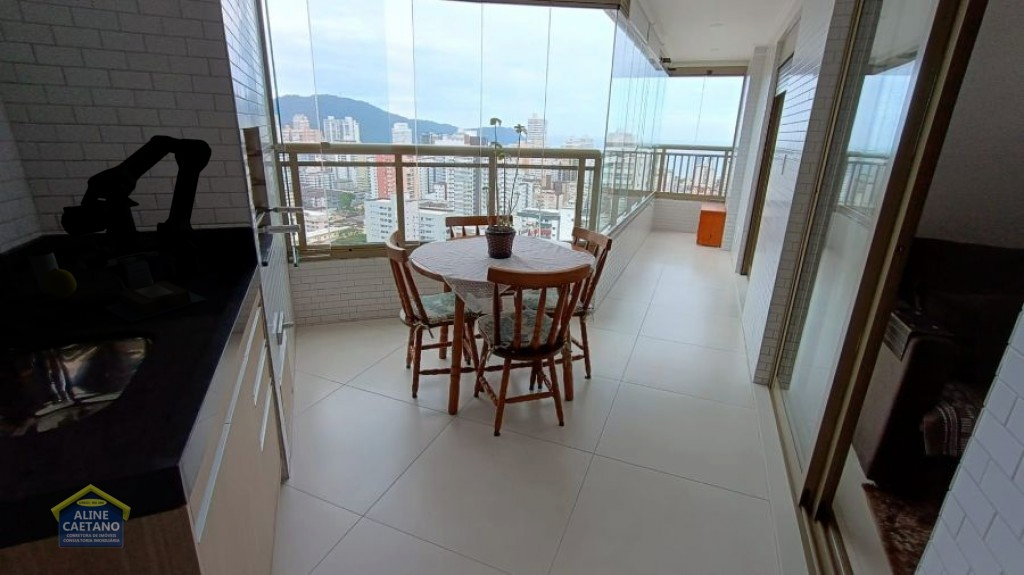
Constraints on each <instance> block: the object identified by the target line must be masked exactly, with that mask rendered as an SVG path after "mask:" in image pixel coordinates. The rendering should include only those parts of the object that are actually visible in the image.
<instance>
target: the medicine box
mask: <svg viewBox="0 0 1024 575" xmlns="http://www.w3.org/2000/svg"><path fill="white" fill-rule="evenodd" d="M117 263H118V264H120V265H122V267H123V270H124V273H125V276H126V279H127V282H128V286H129V288H125V287H124V285H123V284H122V283H121V286H122V289H123V291H126V290H130V289H134V288H138V287H142V286H146V285H149V284H153V283H154V282H153V281H154V280H153V276H152V277H151V274H150V270H149V267H148V264H147V262H145V261H142V260H141V258H138V257H137V256H134V257H129V258H124V259H120V260H117Z"/></svg>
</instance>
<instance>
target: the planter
mask: <svg viewBox="0 0 1024 575" xmlns="http://www.w3.org/2000/svg"><path fill="white" fill-rule="evenodd" d="M27 257H28V259H29V262H30V265H31V268H32V270H33V272H34V275H35V278H36V281H37V282H38V285H39V288H40V291H41V293H42V294H44V295H52V294H51V293H49V292H48V290H47V289H46V287H45V283H44V278H45V275H46V274H47V273H48V272H49V271H51V270H53V269H54V268H58V269H60V268H59V265H58V263H57V259H56V256H55V254H54V251H52V250H40V251H33V252H30V253H28V254H27Z"/></svg>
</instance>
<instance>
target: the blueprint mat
mask: <svg viewBox="0 0 1024 575" xmlns="http://www.w3.org/2000/svg"><path fill="white" fill-rule="evenodd" d="M189 295H190V299H191V302H192V303H193V302H199V301H203V300H207V298H205V297H203V296H201V295H198V294H195V293H194V292H191V291H189ZM191 302H190V303H191ZM190 303H189V304H190ZM104 308H105V309H106V310H108V312H111V313H113V314H114V315H116V316H117V317H119V316H120V318H121V317H122V318H121V319H123V318H124V319H125V320H124V319H123V320H124V321H126V320H127V321H126V322H128V321H129V322H128V323H130V322H131V323H132V322H135V321H138V320H140V319H143V318H145V317H144V315H142V314H140V313H138V312H136V311H135V310H133V309H131V308H129V307H127V306H125V305H124V304H122V302H118V303H114V304H111V305H106V306H105V307H104ZM142 316H143V317H142ZM131 323H130V324H131Z"/></svg>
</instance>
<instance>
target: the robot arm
mask: <svg viewBox="0 0 1024 575" xmlns="http://www.w3.org/2000/svg"><path fill="white" fill-rule="evenodd" d="M169 154H174V159H175V162H176V165H177V167H178V168H177V175H176V180H175V184H174V190H173V194H172V199H171V205H170V208H169V214H168V218H167V219H166V220H165V221H164V222H157V224H156V231H155V234H154V235H153V237H154V238H155V240H151V241H148V242H147V245H146V246H142V244H141V240H140V238H139V235H140V232H139V230H138V229H137V226H136V223H135V219H134V216H133V212H132V209H131V208H135V207H138V206H140V203H139V202H137V201H135V200H133V199H132V198H130V196H131V194H132V193H133V192H134V191H135V189H136V188H137V183H138V181H139V179H140V178H141V177H142V176H144V175H145V174H146V173H147V172H148V171H150V169H152V168H153V167H154V166H155V165H157V164H158V163H159V162H160V161H161V160H162V159H164V158H165V157H167V156H168V155H169ZM212 154H213V153H212V147H211V146H210V145H209V143H208V142H206V140H203V139H197V138H196V139H195V138H177V137H172V136H170V135H162V134H156V135H155V134H154V135H153V136H151V137H150V139H149V140H148V141H147V142H146V143H144V144H143V145H142V146H141V147H139V148H138V149H137V150H136V151H135V152H133V153H132V154H130V155H129V156H128V157H127V158H125V159H124V160H123V161H122V162H120V163H119V164H118V165H115V166H113V167H110V168H107V169H104V170H102V171H100V172H98V173H96V174H94V175H92V176H90V177H89V178H88V179H87V181H86V183H87V189H86V191H85V192H84V195H83V196H82V199H81V202H80V205H75V206H73V205H70V206H69V205H68V206H63V207H62V210H63V213H62V214H61V217H60V218H61V219H60V224H61V226H62V228H63V230H64V231H65V233H66V234H68V235H69V236H70V237H73V238H78V237H82V236H83V237H84V236H88V235H91V234H97V233H101V232H104V231H105V237H104V235H102V234H98V235H93V236H90V237H91V241H92V244H93V247H94V248H95V250H98V249H104V250H105V252H110V253H106V254H103V253H100V252H97V251H94V252H89V253H83V254H79V255H78V256H77V259H76V261H77V263H78V266H79V267H80V268H82V269H84V270H86V271H87V272H88V271H89V272H90V271H96V270H100V269H104V270H106V271H110V272H111V273H112V274H113V275H114V276H115V277H116V278H117V279H118V281H119V283H121V285H122V284H123V285H124V287H125V288H129V286H128V282H127V279H126V276H125V273H124V270H123V267H122V265H120V264H118V263H117V260H120V259H124V258H129V257H137V256H138V257H139V259H140V260H142V261H145V262H147V264H148V267H149V270H150V274H151V277H152V278H153V275H154V270H155V269H156V266H157V263H158V261H159V260H160V259H162V255H170V259H171V261H170V267H171V269H172V270H171V271H172V275H173V276H175V277H177V278H180V279H182V280H185V279H186V280H187V279H189V278H193V277H197V276H202V275H205V274H207V273H208V271H207V270H204V264H203V261H202V256H201V255H203V254H205V245H203V244H201V243H200V242H198V241H197V240H195V231H194V229H193V226H192V224H191V219H192V214H193V209H194V204H195V198H196V193H197V190H198V184H199V178H200V175H201V172H202V171H203V170H204V169H205V168H206V167H207V166H208V164H209V162H210V159H211V157H212ZM111 252H112V253H111ZM160 254H161V255H160Z"/></svg>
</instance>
